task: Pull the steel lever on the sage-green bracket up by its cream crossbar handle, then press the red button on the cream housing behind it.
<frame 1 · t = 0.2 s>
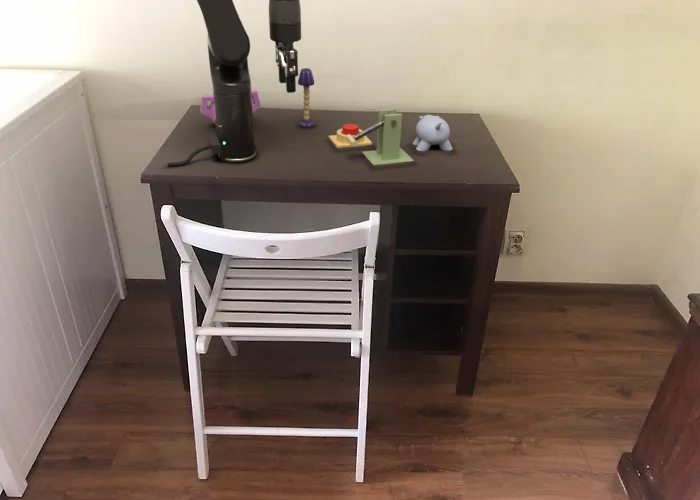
hand: (287, 87, 149), 17 cm above the table, tool pointing down, fingers open, 8 cm apart
hippopotamus toy: (430, 147, 164), on the table
button box: (350, 144, 164), on the table
bracket: (387, 160, 155), on the table
pot: (232, 127, 174), on the table
lever: (371, 129, 149), point 9 cm above the table, hinge at -25.0°
toy lamp: (306, 127, 176), on the table
button: (350, 130, 162), point 4 cm above the table, slide at 0.1 cm
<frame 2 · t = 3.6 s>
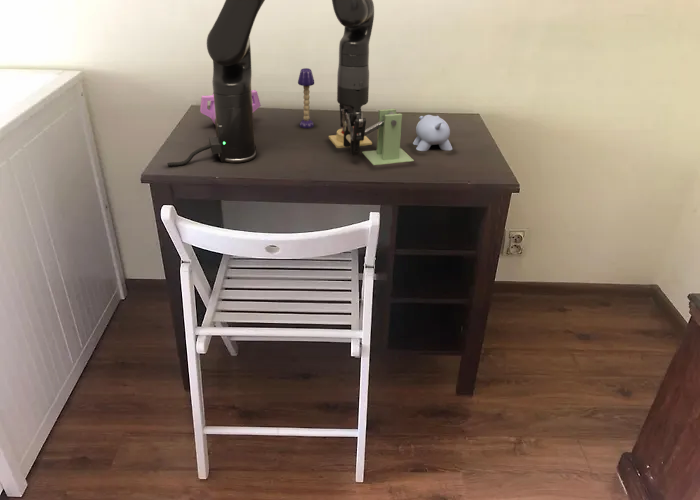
hand: (351, 150, 150), 4 cm above the table, tool pointing down, fingers closed on lever, 5 cm apart
lever: (371, 129, 149), point 9 cm above the table, hinge at -25.1°, touching gripper
everything else where it was.
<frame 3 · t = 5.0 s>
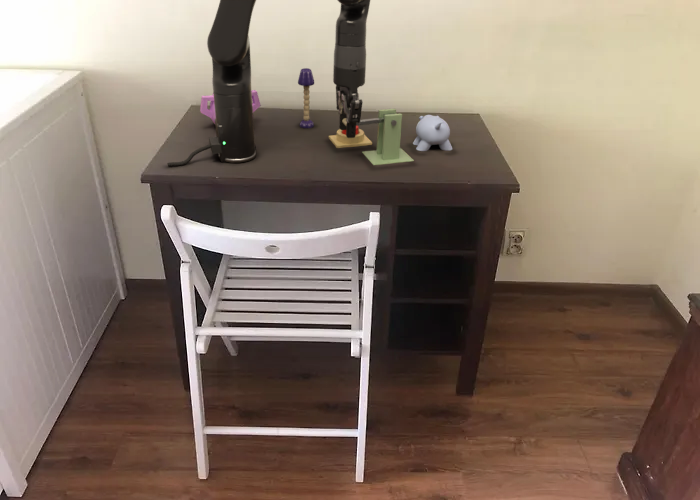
hand: (347, 133, 148), 8 cm above the table, tool pointing down, fingers closed on lever, 5 cm apart
lever: (370, 121, 148), point 11 cm above the table, hinge at -1.8°, touching gripper
everything else where it was.
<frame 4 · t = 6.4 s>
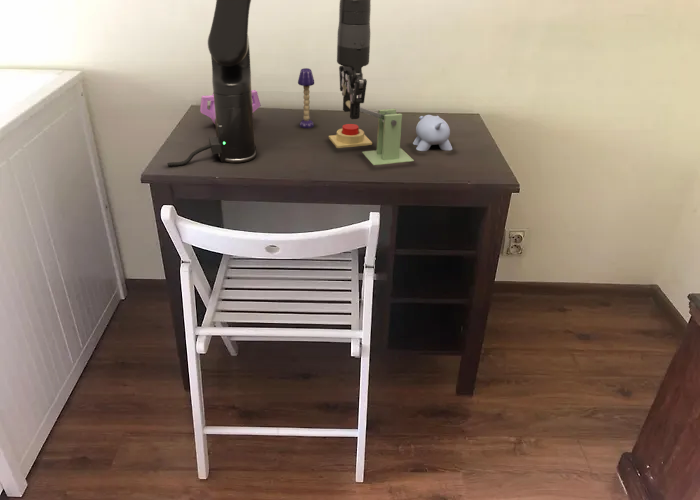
hand: (351, 114, 146), 13 cm above the table, tool pointing down, fingers closed on lever, 5 cm apart
lever: (372, 113, 147), point 13 cm above the table, hinge at 21.6°, touching gripper
everything else where it was.
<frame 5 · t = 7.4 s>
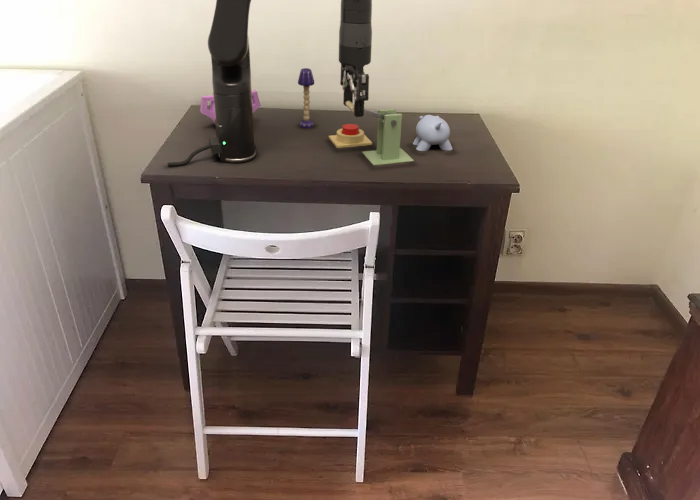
hand: (353, 110, 145), 14 cm above the table, tool pointing down, fingers open, 8 cm apart
lever: (372, 113, 147), point 13 cm above the table, hinge at 21.3°
everything else where it was.
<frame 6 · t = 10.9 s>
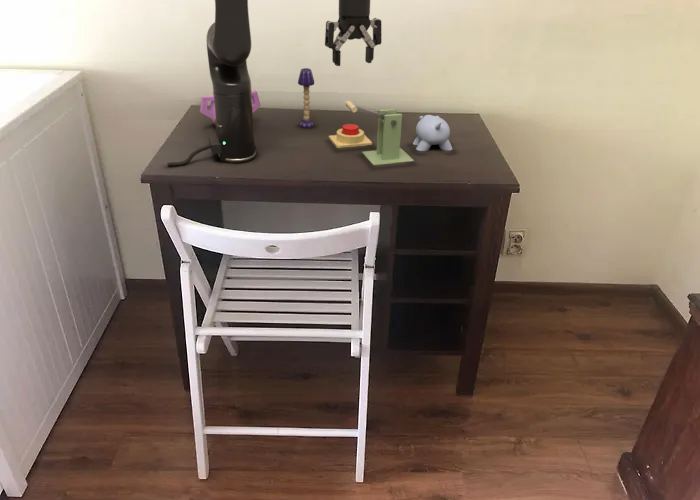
hand: (352, 63, 150), 23 cm above the table, tool pointing down, fingers open, 8 cm apart
nothing on the table moved.
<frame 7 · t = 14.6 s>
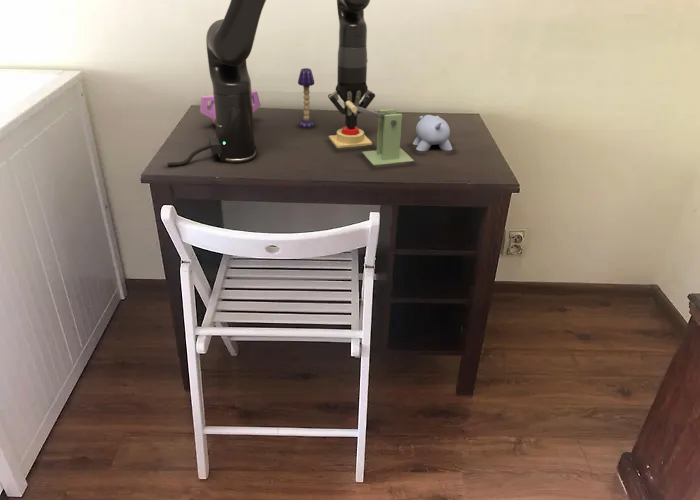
hand: (350, 128, 162), 5 cm above the table, tool pointing down, fingers closed
button: (350, 131, 162), point 4 cm above the table, slide at -0.4 cm, touching gripper
everything else where it was.
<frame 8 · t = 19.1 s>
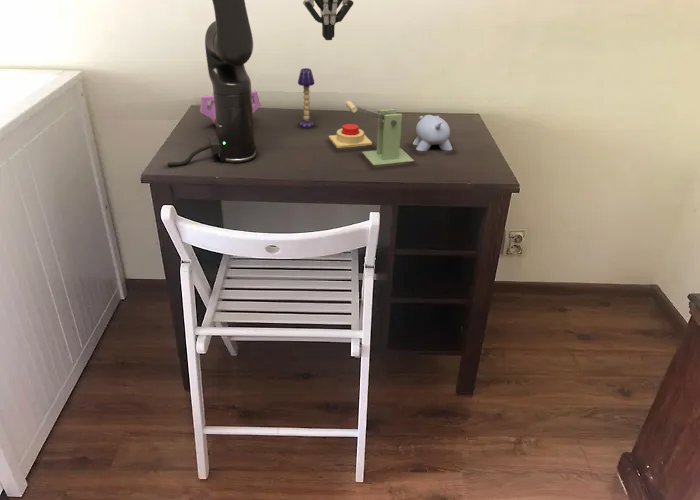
hand: (328, 39, 153), 27 cm above the table, tool pointing down, fingers closed
button: (350, 130, 162), point 4 cm above the table, slide at 0.1 cm
everything else where it was.
at the end: lever at +21° (first picture: -25°); button pushed in 1.3 cm at the most during the clip, back to where it started at the end; button slide at 0.1 cm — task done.
